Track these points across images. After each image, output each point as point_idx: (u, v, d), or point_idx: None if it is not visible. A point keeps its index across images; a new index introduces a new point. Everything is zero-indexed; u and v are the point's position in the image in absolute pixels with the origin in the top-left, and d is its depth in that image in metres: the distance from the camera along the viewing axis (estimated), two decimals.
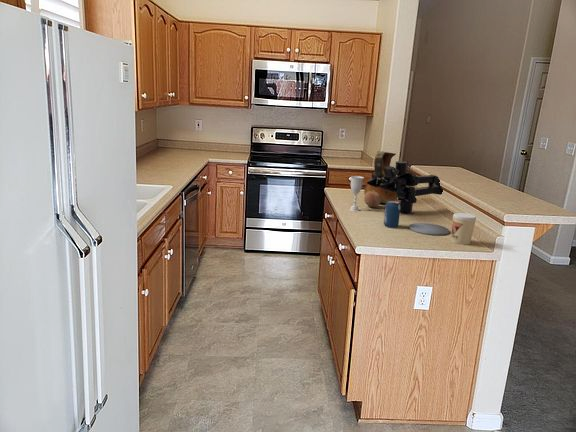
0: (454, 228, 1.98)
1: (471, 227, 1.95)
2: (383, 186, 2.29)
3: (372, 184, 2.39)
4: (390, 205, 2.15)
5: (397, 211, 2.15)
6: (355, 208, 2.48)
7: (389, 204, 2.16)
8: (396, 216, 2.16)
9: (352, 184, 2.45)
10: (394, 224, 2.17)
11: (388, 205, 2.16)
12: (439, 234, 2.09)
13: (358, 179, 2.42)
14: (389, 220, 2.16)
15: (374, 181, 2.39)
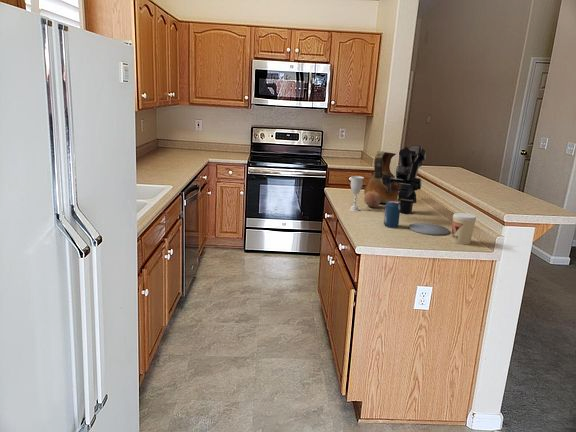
0: (454, 228, 1.98)
1: (471, 227, 1.95)
2: (409, 193, 2.23)
3: (390, 188, 2.29)
4: (390, 205, 2.15)
5: (397, 211, 2.15)
6: (355, 208, 2.48)
7: (389, 204, 2.16)
8: (396, 216, 2.16)
9: (352, 184, 2.45)
10: (394, 224, 2.17)
11: (388, 205, 2.16)
12: (439, 234, 2.09)
13: (358, 179, 2.42)
14: (389, 220, 2.16)
15: (390, 185, 2.28)
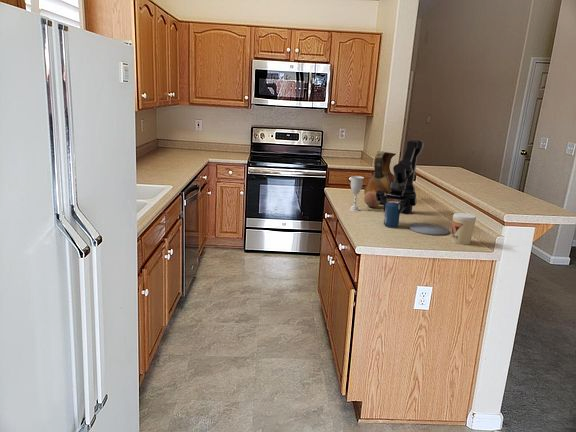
0: (454, 228, 1.98)
1: (471, 227, 1.95)
2: (401, 210, 2.16)
3: None
4: (390, 205, 2.15)
5: (397, 211, 2.15)
6: (355, 208, 2.48)
7: (389, 204, 2.16)
8: (396, 216, 2.16)
9: (352, 184, 2.45)
10: (394, 224, 2.17)
11: (388, 205, 2.16)
12: (439, 234, 2.09)
13: (358, 179, 2.42)
14: (389, 220, 2.16)
15: (386, 201, 2.21)
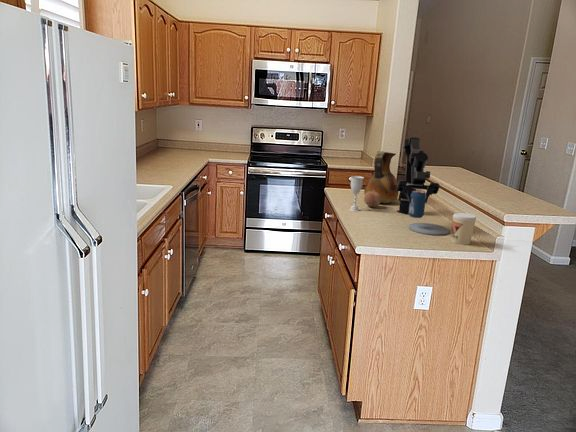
0: (454, 228, 1.98)
1: (471, 227, 1.95)
2: (427, 199, 2.13)
3: None
4: (418, 195, 2.10)
5: (424, 201, 2.12)
6: (355, 208, 2.48)
7: (417, 194, 2.11)
8: (423, 206, 2.12)
9: (352, 184, 2.45)
10: (421, 214, 2.13)
11: (416, 195, 2.11)
12: (439, 234, 2.09)
13: (358, 179, 2.42)
14: (417, 210, 2.12)
15: None
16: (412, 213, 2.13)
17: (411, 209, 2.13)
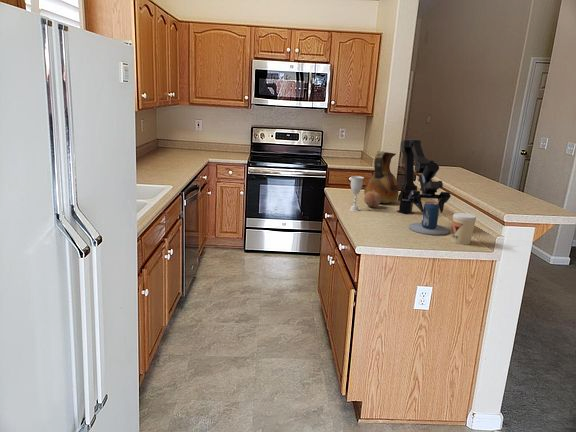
0: (454, 228, 1.98)
1: (471, 227, 1.95)
2: None
3: None
4: (433, 207, 2.11)
5: (438, 212, 2.13)
6: (355, 208, 2.48)
7: (431, 206, 2.12)
8: (437, 217, 2.14)
9: (352, 184, 2.45)
10: (436, 225, 2.14)
11: (430, 207, 2.12)
12: (439, 234, 2.09)
13: (358, 179, 2.42)
14: (432, 222, 2.13)
15: None
16: (427, 225, 2.14)
17: (426, 221, 2.14)
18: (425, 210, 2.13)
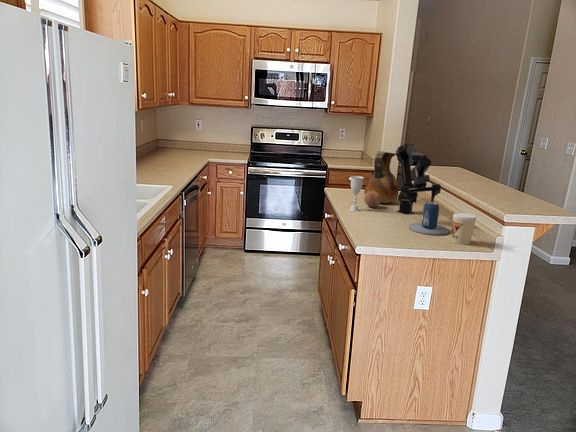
0: (454, 228, 1.98)
1: (471, 227, 1.95)
2: (432, 201, 2.23)
3: None
4: (433, 207, 2.11)
5: (438, 212, 2.13)
6: (355, 208, 2.48)
7: (431, 206, 2.12)
8: (437, 217, 2.14)
9: (352, 184, 2.45)
10: (436, 225, 2.14)
11: (430, 207, 2.12)
12: (439, 234, 2.09)
13: (358, 179, 2.42)
14: (432, 222, 2.13)
15: (410, 196, 2.26)
16: (427, 225, 2.14)
17: (426, 221, 2.14)
18: (425, 210, 2.13)
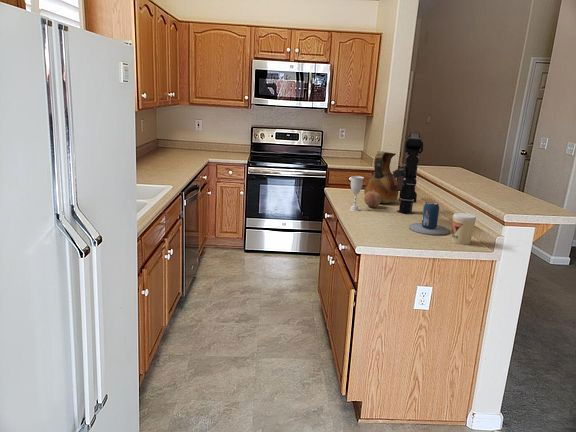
0: (454, 228, 1.98)
1: (471, 227, 1.95)
2: (408, 194, 2.23)
3: None
4: (433, 207, 2.11)
5: (438, 212, 2.13)
6: (355, 208, 2.48)
7: (431, 206, 2.12)
8: (437, 217, 2.14)
9: (352, 184, 2.45)
10: (436, 225, 2.14)
11: (430, 207, 2.12)
12: (439, 234, 2.09)
13: (358, 179, 2.42)
14: (432, 222, 2.13)
15: None
16: (427, 225, 2.14)
17: (426, 221, 2.14)
18: (425, 210, 2.13)
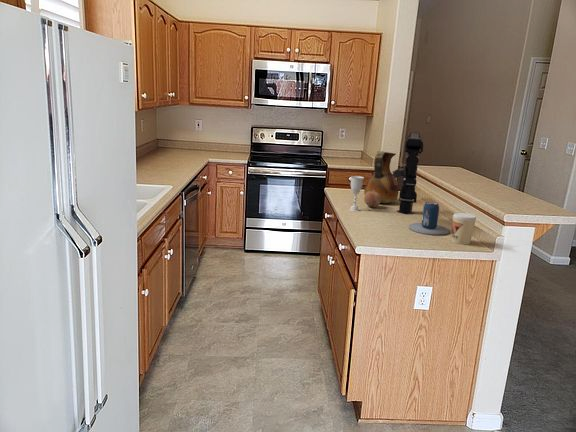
0: (454, 228, 1.98)
1: (471, 227, 1.95)
2: (408, 194, 2.23)
3: None
4: (433, 207, 2.11)
5: (438, 212, 2.13)
6: (355, 208, 2.48)
7: (431, 206, 2.12)
8: (437, 217, 2.14)
9: (352, 184, 2.45)
10: (436, 225, 2.14)
11: (430, 207, 2.12)
12: (439, 234, 2.09)
13: (358, 179, 2.42)
14: (432, 222, 2.13)
15: None
16: (427, 225, 2.14)
17: (426, 221, 2.14)
18: (425, 210, 2.13)
